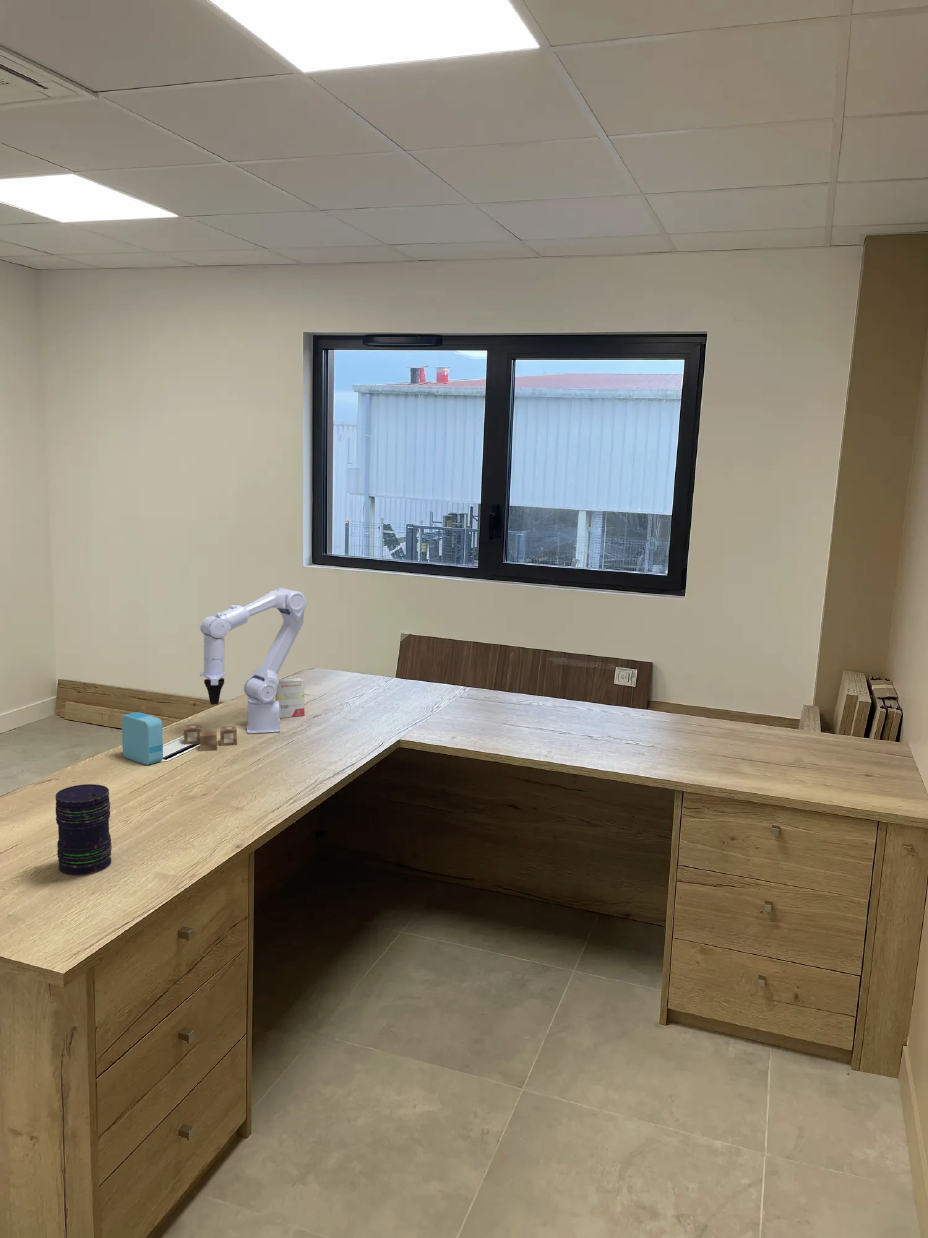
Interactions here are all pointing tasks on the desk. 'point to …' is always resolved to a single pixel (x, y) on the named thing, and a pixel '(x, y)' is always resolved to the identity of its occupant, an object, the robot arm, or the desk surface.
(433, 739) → the desk surface
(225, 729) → the marked block 2
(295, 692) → the ink box
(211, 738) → the plain block
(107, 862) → the dark blue barrel
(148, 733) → the data package
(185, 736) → the marked block 1
